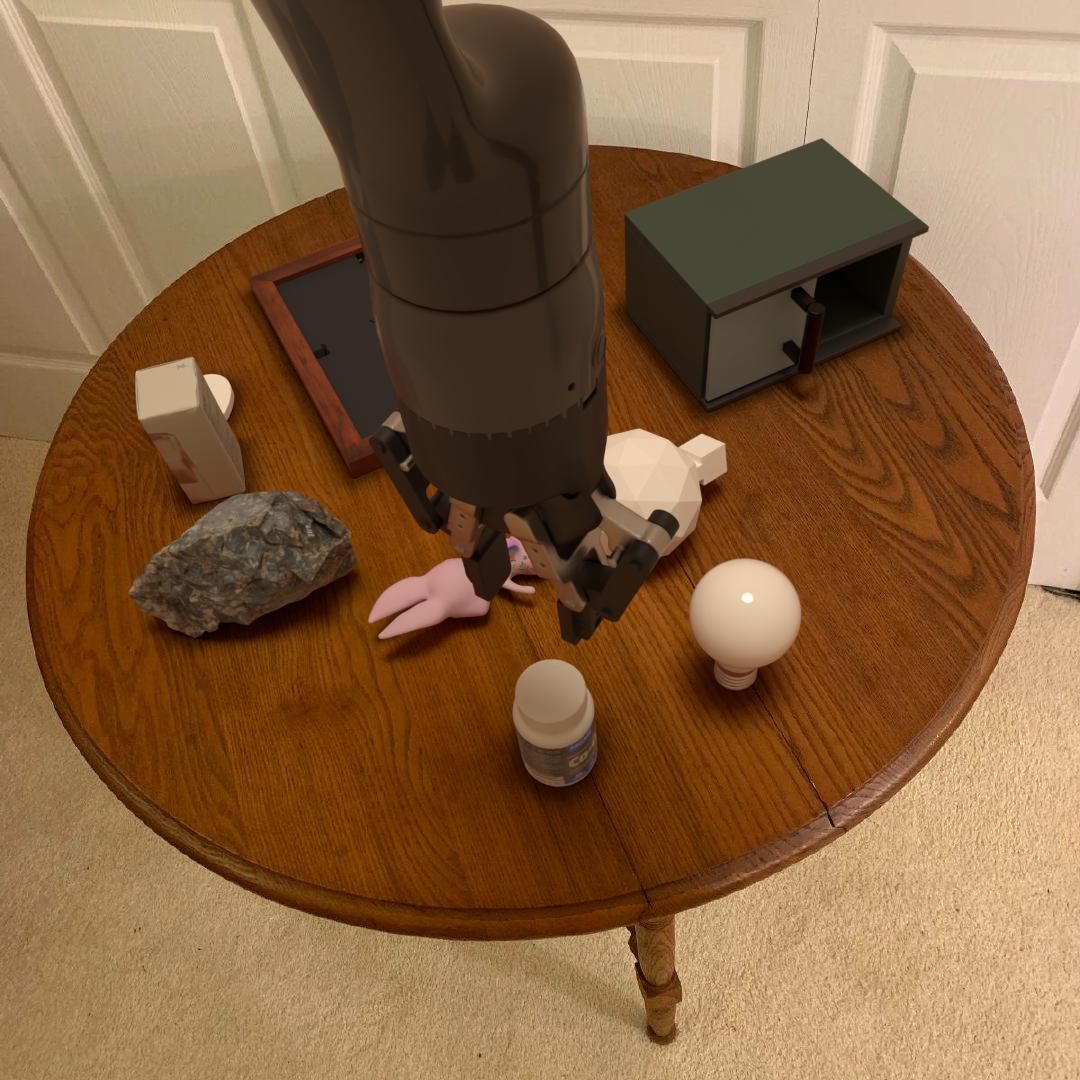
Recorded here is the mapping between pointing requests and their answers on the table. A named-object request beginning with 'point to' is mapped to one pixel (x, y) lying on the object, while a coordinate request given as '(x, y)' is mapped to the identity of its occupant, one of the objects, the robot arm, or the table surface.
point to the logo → (221, 392)
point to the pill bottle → (555, 723)
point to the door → (764, 339)
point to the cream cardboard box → (189, 430)
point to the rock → (244, 562)
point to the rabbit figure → (442, 594)
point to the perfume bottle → (662, 476)
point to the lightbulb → (744, 618)
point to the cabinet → (767, 257)
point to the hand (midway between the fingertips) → (536, 606)
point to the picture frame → (333, 343)
